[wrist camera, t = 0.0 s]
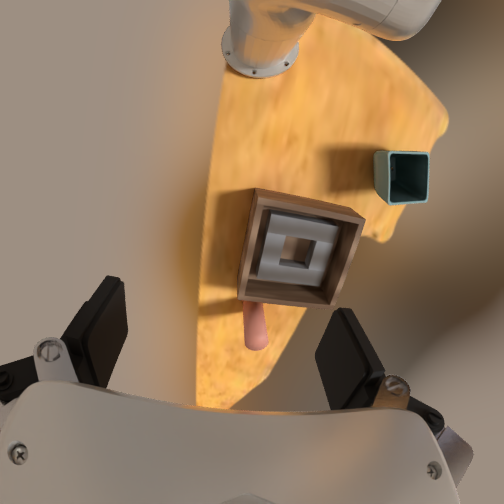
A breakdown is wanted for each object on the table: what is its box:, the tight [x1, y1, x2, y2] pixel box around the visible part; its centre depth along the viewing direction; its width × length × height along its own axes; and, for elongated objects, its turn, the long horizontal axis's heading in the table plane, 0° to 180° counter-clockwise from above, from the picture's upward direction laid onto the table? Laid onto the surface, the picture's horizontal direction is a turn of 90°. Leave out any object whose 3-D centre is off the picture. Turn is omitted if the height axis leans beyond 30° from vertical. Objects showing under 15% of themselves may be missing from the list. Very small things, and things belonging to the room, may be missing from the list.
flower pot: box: [373, 151, 430, 205], centre depth 41 cm, size 9×9×9 cm
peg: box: [243, 300, 268, 351], centre depth 50 cm, size 4×4×12 cm
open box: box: [237, 188, 366, 310], centre depth 47 cm, size 18×18×7 cm
